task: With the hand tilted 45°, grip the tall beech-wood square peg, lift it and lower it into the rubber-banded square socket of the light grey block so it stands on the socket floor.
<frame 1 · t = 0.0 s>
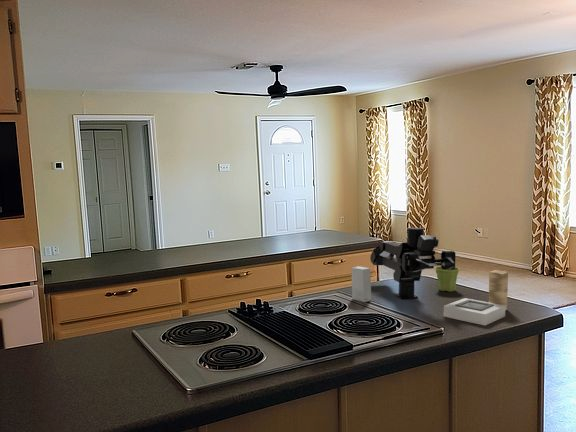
hand: (441, 265, 166), 17 cm above the counter, tool horizontal, fingers open, 9 cm apart
skincare box: (361, 300, 189), on the counter
plant pot: (446, 290, 203), on the counter
socket block: (474, 316, 167), on the counter
peg: (497, 309, 174), on the counter
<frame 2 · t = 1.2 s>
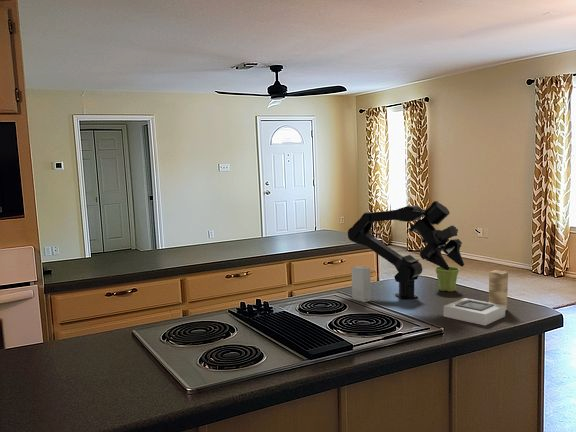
hand: (456, 267, 177), 14 cm above the counter, tool tilted 45°, fingers open, 9 cm apart
nothing on the counter moved.
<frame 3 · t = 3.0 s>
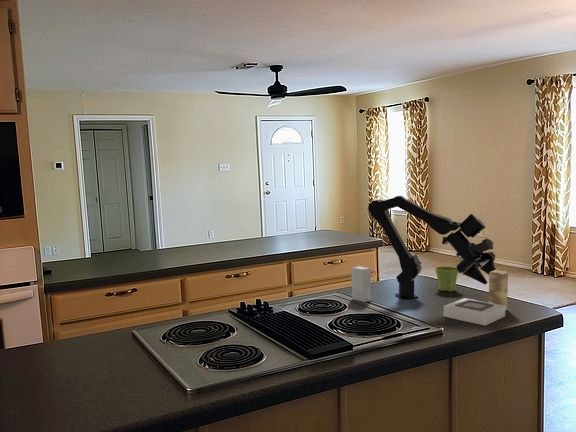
hand: (492, 281, 175), 9 cm above the counter, tool tilted 45°, fingers open, 9 cm apart
nothing on the counter moved.
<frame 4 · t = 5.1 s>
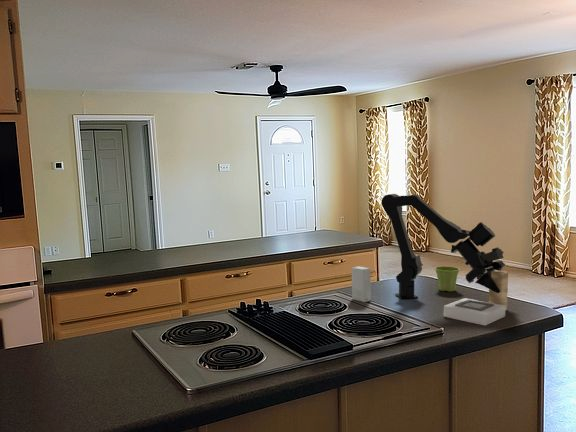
hand: (502, 291, 172), 7 cm above the counter, tool tilted 45°, fingers closed on peg, 4 cm apart
peg: (497, 309, 174), on the counter, touching gripper
everything else where it was.
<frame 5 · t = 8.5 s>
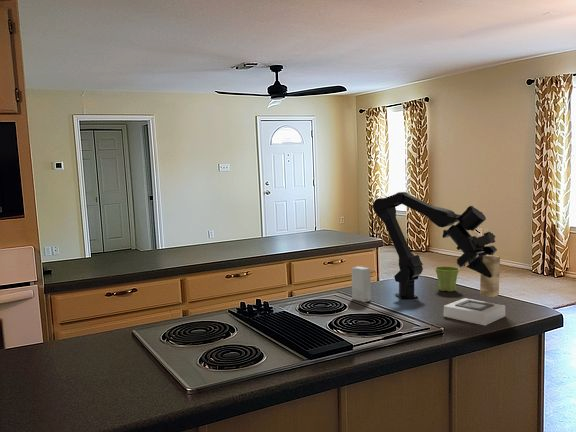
hand: (494, 276, 169), 12 cm above the counter, tool tilted 45°, fingers closed on peg, 4 cm apart
peg: (489, 294, 171), point 6 cm above the counter, touching gripper
everything else where it was.
when the fingers open (8 cm above the counter, at t = 11.9 s): peg stays where it is, resting on socket block.
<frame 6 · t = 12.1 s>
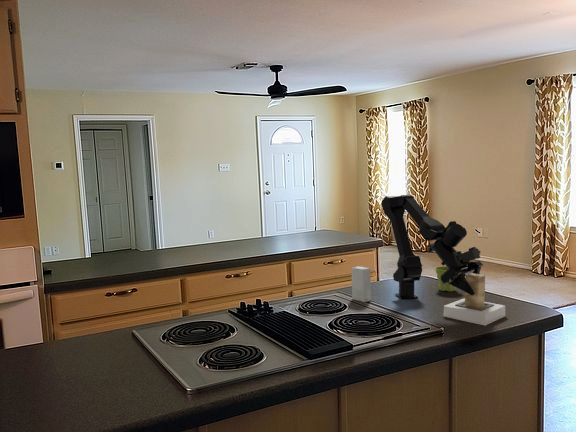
hand: (478, 292, 165), 8 cm above the counter, tool tilted 45°, fingers open, 7 cm apart
peg: (474, 314, 167), point 1 cm above the counter, touching socket block
everything else where it was.
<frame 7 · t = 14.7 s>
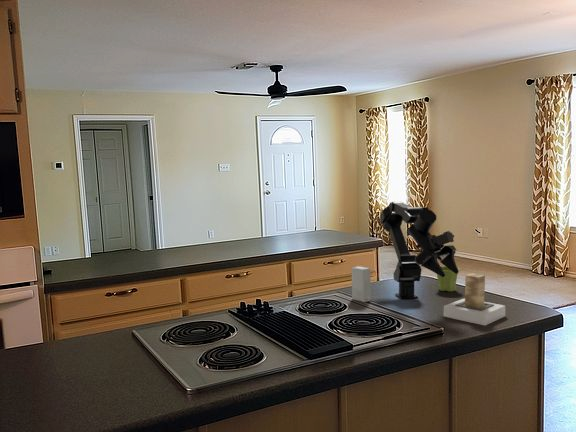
hand: (451, 274, 171), 13 cm above the counter, tool tilted 45°, fingers open, 9 cm apart
nothing on the counter moved.
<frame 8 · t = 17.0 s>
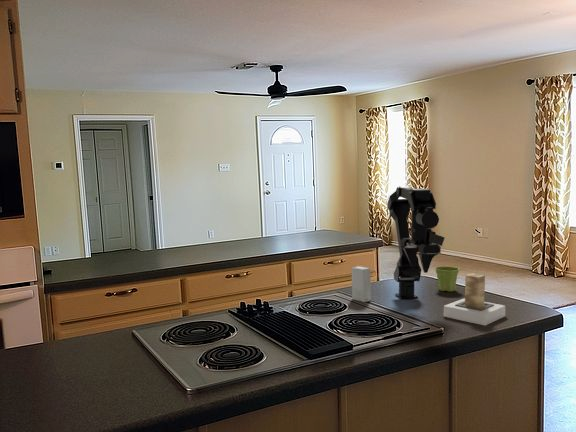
hand: (419, 270, 177), 13 cm above the counter, tool pointing down, fingers open, 9 cm apart
nothing on the counter moved.
at the end: peg 0.0 cm off-centre on the socket block, point 0.5 cm above the socket block's base; peg tilted 0°; the gripper is holding nothing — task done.
